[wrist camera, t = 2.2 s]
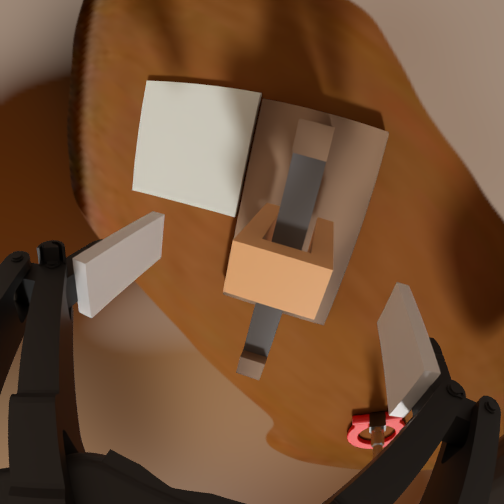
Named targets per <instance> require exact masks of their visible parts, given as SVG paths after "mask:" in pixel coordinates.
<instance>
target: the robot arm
mask: <svg viewBox="0 0 504 504" xmlns="http://www.w3.org/2000/svg"><path fill="white" fill-rule="evenodd" d="M163 226H164V214H161V213H157V212H154V211H153V212H151V213H149V214H147V215H145V216H144V217H142V218H140V219H138V220H136V221H135V222H133V223H131V224H129V225H127V226H126V227H124V228H122V229H120V230H119V231H117V232H115V233H114V234H112V235H110V236H108V237H107V238H105V239H101V240H97V241H94V242H92V243H90V244H88V245H86V247H83V248H81V249H80V250H78V251H77V252H75V253H73V254H72V255H70V256H68V257H67V258H66V256H65V246H64V244H63V243H62V242H60V241H54V240H53V241H46V242H43V243H41V244H40V245H39V246H38V247H37V253H38V260H39V264H35V263H31V262H30V256H29V254H28V253H27V252H23V251H17V252H13V253H12V254H10V255H8V256H7V257H6V258H5V259H4V261H3V262H2V263H1V264H0V394H1V391H2V388H3V385H4V382H5V380H6V377H7V374H8V372H9V369H10V367H11V364H12V362H13V359H14V357H15V354H16V352H17V349H18V347H19V345H20V343H21V340H22V338H23V336H24V338H23V345H22V352H21V360H20V369H19V381H18V391H17V394H12V395H11V397H10V400H9V417H8V419H9V420H8V445H9V446H8V447H9V468H3V469H0V504H245V503H241V502H238V501H234V500H231V499H227V498H224V497H221V496H217V495H214V494H210V493H201V492H194V491H187V490H181V489H175V488H171V487H169V486H168V485H167V484H165V483H164V482H162V481H161V480H160V479H158V478H157V477H156V476H154V475H153V474H151V473H150V472H149V471H148V470H146V469H145V468H144V467H142V466H141V465H140V464H137V463H135V462H133V461H131V460H129V459H128V458H126V457H124V456H122V455H120V454H118V453H116V452H114V451H112V450H111V449H110V451H109V452H108V453H107V455H103V454H97V453H88V452H85V449H84V447H83V443H82V440H81V436H80V429H79V422H78V413H77V405H76V394H75V380H74V361H73V308H72V306H73V305H74V304H75V303H76V302H77V301H78V307H79V312H80V313H82V314H84V315H86V316H88V317H90V318H92V317H94V316H95V315H96V314H97V313H98V312H99V311H100V310H101V309H102V308H103V307H105V306H106V305H107V304H108V303H109V302H110V301H111V300H113V299H114V298H115V297H116V296H117V295H118V294H119V293H120V292H122V291H123V290H124V289H125V288H126V287H127V286H129V285H130V284H131V283H132V282H133V281H134V280H135V279H137V278H138V277H139V276H140V275H141V274H142V273H144V272H145V271H146V270H147V269H148V268H149V267H151V266H152V265H153V264H154V263H155V262H157V261H158V260H159V259H160V258H161V251H162V238H163ZM377 326H378V332H379V338H380V344H381V351H382V358H383V365H384V373H385V382H386V390H387V400H388V411H389V416H396V417H403V418H404V417H405V416H406V415H407V414H408V413H409V412H410V411H411V409H412V412H413V417H412V418H411V419H410V420H409V421H408V422H407V424H406V425H405V426H404V427H403V428H402V429H401V430H400V432H399V433H398V434H397V435H396V436H395V437H394V438H393V439H392V440H391V441H390V442H389V444H388V445H387V446H386V447H385V448H384V449H383V450H382V451H381V452H380V453H379V454H378V455H377V456H376V457H375V458H374V459H373V460H372V461H371V462H370V463H369V464H368V465H366V466H365V467H364V468H363V469H362V470H361V471H360V472H359V473H358V474H357V475H356V476H354V477H353V478H352V479H351V480H350V481H349V482H348V483H347V484H345V485H344V486H343V487H342V488H341V489H339V490H338V491H337V492H336V493H335V494H333V495H332V496H331V497H330V498H328V499H327V500H326V501H324V502H323V503H322V504H393V503H394V502H395V501H396V500H397V499H398V498H399V497H400V495H401V494H402V493H403V492H404V491H405V489H406V488H407V487H408V486H409V485H410V483H411V482H412V481H413V479H414V478H415V477H416V475H417V474H418V473H419V472H420V470H421V469H422V468H423V466H424V465H425V464H426V462H427V461H428V459H429V458H430V457H431V455H432V454H433V452H434V451H435V449H436V448H437V446H438V445H439V443H440V442H441V441H442V444H441V448H440V451H439V454H438V457H437V460H436V463H435V466H434V468H433V471H432V474H431V477H430V480H429V482H428V484H427V487H426V489H425V492H424V494H423V497H422V499H421V501H420V503H419V504H504V435H502V436H501V437H500V438H499V432H500V418H501V411H500V407H499V405H498V403H497V402H496V400H495V399H493V398H491V397H489V396H483V397H481V398H480V399H479V401H478V402H477V403H476V402H474V401H472V400H469V399H467V398H466V394H465V391H464V389H463V387H462V386H461V385H460V384H459V383H457V382H456V381H454V380H451V377H450V374H449V371H448V368H447V365H446V362H445V359H444V357H443V355H442V351H441V348H440V346H439V345H438V343H437V342H436V341H435V339H434V338H430V337H429V336H428V333H427V331H426V328H425V325H424V323H423V320H422V317H421V315H420V312H419V309H418V307H417V304H416V302H415V299H414V297H413V294H412V292H411V290H410V287H409V286H408V285H405V284H401V283H398V282H397V283H396V285H395V287H394V289H393V291H392V293H391V296H390V298H389V300H388V302H387V304H386V306H385V308H384V310H383V312H382V314H381V316H380V318H379V320H378V322H377Z"/></svg>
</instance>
